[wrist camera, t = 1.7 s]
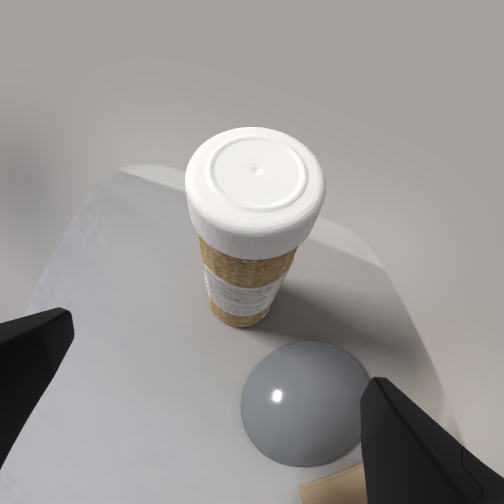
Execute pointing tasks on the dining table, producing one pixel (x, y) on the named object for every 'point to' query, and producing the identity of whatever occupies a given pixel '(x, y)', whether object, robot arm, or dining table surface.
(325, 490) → the tan square cloth
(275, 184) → the sprinkles bottle
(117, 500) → the dining table surface
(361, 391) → the coaster
